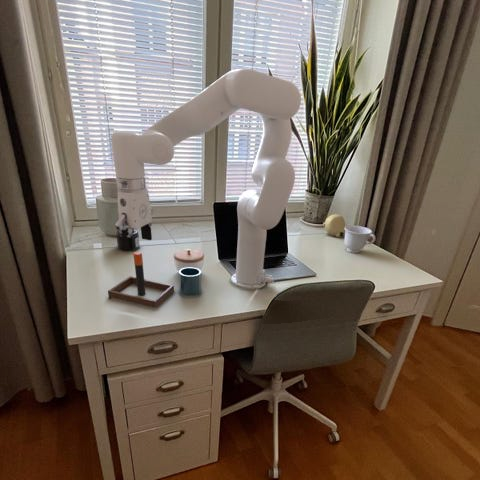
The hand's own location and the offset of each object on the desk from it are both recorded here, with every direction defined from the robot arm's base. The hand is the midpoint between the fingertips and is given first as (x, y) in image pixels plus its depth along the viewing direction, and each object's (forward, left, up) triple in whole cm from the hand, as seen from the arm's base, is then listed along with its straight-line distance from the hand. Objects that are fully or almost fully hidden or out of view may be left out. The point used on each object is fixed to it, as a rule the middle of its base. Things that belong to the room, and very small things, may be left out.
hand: (138, 244), depth 103 cm
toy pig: (-52, -96, -17) cm, 111 cm away
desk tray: (0, 0, -17) cm, 17 cm away
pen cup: (-13, -8, -17) cm, 23 cm away
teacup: (-64, -76, -17) cm, 101 cm away
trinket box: (-6, -21, -17) cm, 28 cm away
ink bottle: (+28, -34, -17) cm, 47 cm away
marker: (0, 0, -17) cm, 17 cm away
